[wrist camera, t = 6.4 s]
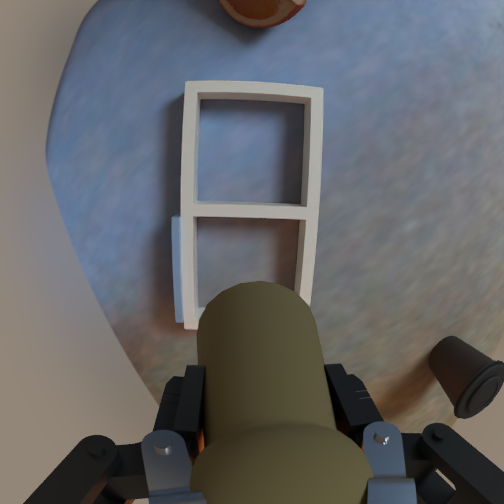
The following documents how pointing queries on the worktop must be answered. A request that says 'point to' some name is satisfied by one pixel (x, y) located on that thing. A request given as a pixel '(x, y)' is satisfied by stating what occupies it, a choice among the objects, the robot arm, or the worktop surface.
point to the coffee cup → (466, 375)
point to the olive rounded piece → (270, 406)
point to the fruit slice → (262, 11)
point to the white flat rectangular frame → (191, 208)
